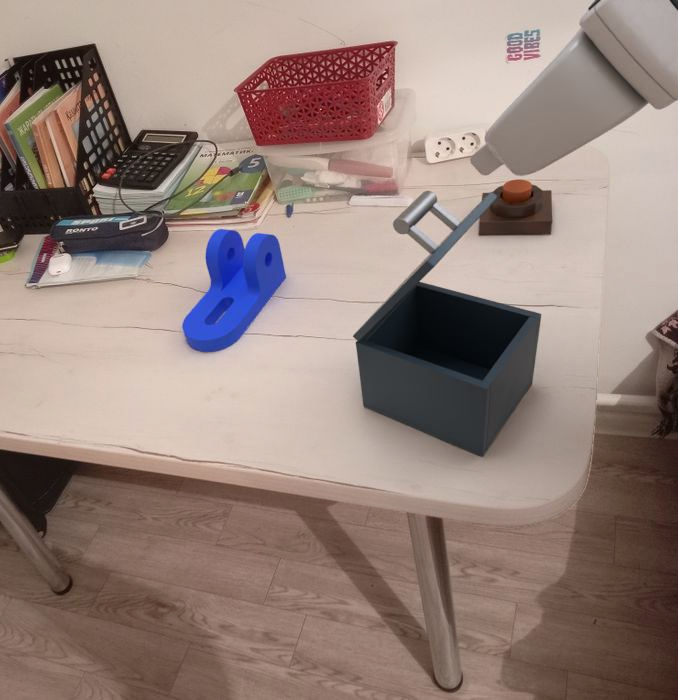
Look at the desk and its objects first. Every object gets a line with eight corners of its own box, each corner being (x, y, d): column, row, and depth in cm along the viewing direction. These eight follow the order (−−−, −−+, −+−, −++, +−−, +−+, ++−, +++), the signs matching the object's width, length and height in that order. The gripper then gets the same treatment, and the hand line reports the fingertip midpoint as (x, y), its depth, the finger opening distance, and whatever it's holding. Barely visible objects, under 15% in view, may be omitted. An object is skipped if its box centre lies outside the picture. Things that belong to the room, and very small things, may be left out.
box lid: (498, 196, 56) (453, 159, 56) (434, 267, 50) (385, 225, 51) (415, 278, 68) (380, 247, 69) (358, 341, 63) (320, 307, 64)
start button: (530, 189, 87) (532, 178, 86) (530, 203, 84) (531, 191, 83) (502, 191, 88) (503, 179, 87) (501, 204, 86) (502, 193, 85)
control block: (549, 203, 89) (552, 178, 87) (550, 234, 84) (553, 208, 82) (481, 205, 93) (483, 181, 90) (478, 235, 88) (479, 210, 85)
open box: (532, 383, 66) (541, 313, 60) (482, 457, 61) (486, 389, 55) (415, 344, 75) (413, 279, 69) (363, 406, 70) (355, 342, 63)
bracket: (238, 269, 96) (225, 219, 90) (286, 277, 92) (275, 224, 86) (175, 344, 86) (156, 294, 80) (224, 357, 82) (208, 304, 76)
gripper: (721, -117, 38) (541, 45, 51) (590, 11, 30) (412, 168, 42) (789, -42, 38) (592, 101, 51) (678, 108, 30) (474, 236, 42)
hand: (510, 133), depth 46 cm, fingers open, 8 cm apart
